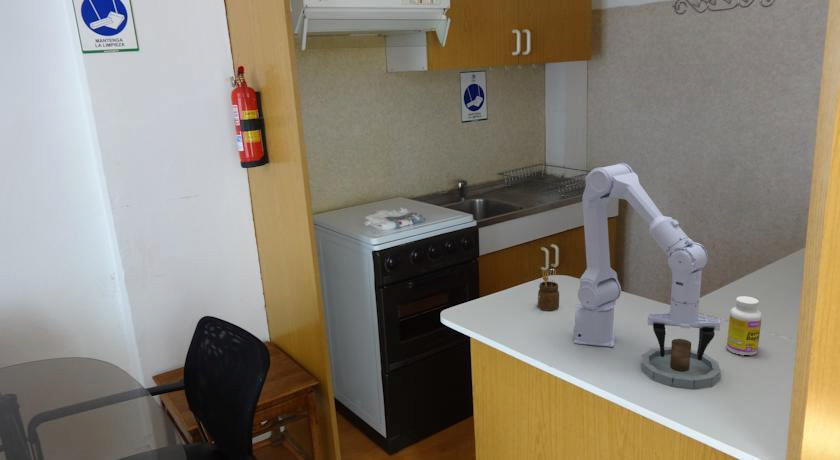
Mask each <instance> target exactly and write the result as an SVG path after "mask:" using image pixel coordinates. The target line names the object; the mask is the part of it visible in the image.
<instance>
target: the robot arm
mask: <svg viewBox="0 0 840 460" xmlns="http://www.w3.org/2000/svg"><path fill="white" fill-rule="evenodd" d="M584 178H585V188H584V191H583V193H582V194H583V195H582V215H583V227H584V228H583V229H584V241H585V242H584V245H585V257H586V258H585V259H586V269H585V271H584V272H583V274H582V275H581V277H580V278H579V288H578V291H577V297H578V300H579V303H580V304H576V305H575V314H574V325H573V333H574V336H573V337H574V339H573V343H574V344H577V345H578V344H579V345H586V346H587V345H588V346H589V345H590V346H597V347H598V346H600V347H612V348H613V347H615V333H614V321H615V320H614V317H615V313H614V312H615V305H616V302H617V300H619V298H620V297H621V294H622V286H621V284H620V281H619V280H618V279H619V278H618V273H617V272H616V271H615V270H614V269H612V267H611V257H610V255H611V253H610V242H609V241H610V238H609V224H608V223H609V222H608V209H607V207H608V205H607V204H608V203H609V202H610V201H611V200H612V199H619V200H620V199H621V200H625V201H627V203H628V204H629V205H630V206H631V207H632V208H633V209H634V210H635V211H636V212H637V213H638V214H639V215H640V217H641V218H642V219H644V221H645V222H647V224H648V225H649V230H648V232H649V235H650V236H651V237H652V238H653V240H654V241H655V242H656V244H657V245H658V246H659V247H660V249H662V251H663V252H664V254H666V256H667V257H668V258H667V263H668V265H667V266H668V267H669V269H670V270H671V278H672V280H671V290H670V291H671V294H670V306H669V307H670V309H669V313H648V314H647V326H652V328H653V329H652V330H653V332H654V335H655V336H656V339H657V342H658V345H659V348H660V355H661V357H664V347H665V340H666V333H667V332H666V326H667V327H668V326H670V327H680V328H681V329H690V328H693V329H694V328H695V329H699V330H698V331H699V332H698V333H699V334H698V335H699V336H698V344H697V350H696V351H697V358H698V360H702V357H703V354H705V351H706V350H707V347H708V345H709V344H710V343H711V341H712V340H713V339H714V338H715V331H717V332H720V331H721V321H720V319H719V318H712V317H706V316H701V315H699V311H700V310H699V309H700V308H699V307H700V299H701V286H702V285H701V284H702V275H703V273H702V272H703V268H704V267H705V266H706V265H707V264H708V262H709V255H708V252H707V249H705V246H704V245H703V244H701V243H699V242H695V241H693V239H691V238H689V237H688V235H687V234H686V233H685V231H684V230H682V228H681V227H680V226H679V225H680V223H679V222H678V220H677V219H673V217H671V216H665V215H663V213H662V212H661V211H660V209H658V206H657V205H656V204H655V203H654V201H653V200H652V199H651V197H650V196H649V195H648V193H647V191H645V189H644V188H643V186H642V185H641V183H640V180H639V176H638V174H637V173H636V172H635V171H633V168H632V167H631V166H629V164H627V163H623V162H619V163H617V164H613V165H608V166H603V167H602V166H601V167H595V168H593V169H592V170H591V171H590V172H589V173H587V175H586V176H585V177H584Z"/></svg>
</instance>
